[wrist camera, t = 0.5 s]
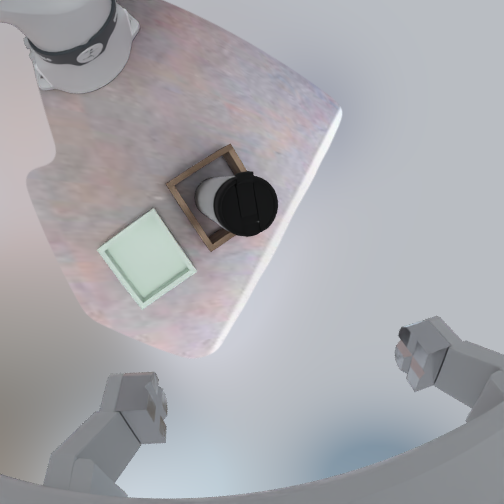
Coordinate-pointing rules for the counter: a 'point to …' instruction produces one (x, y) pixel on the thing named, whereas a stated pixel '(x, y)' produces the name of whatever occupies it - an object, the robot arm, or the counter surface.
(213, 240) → the square wooden frame
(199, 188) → the travel mug
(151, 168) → the counter surface
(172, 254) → the dock
